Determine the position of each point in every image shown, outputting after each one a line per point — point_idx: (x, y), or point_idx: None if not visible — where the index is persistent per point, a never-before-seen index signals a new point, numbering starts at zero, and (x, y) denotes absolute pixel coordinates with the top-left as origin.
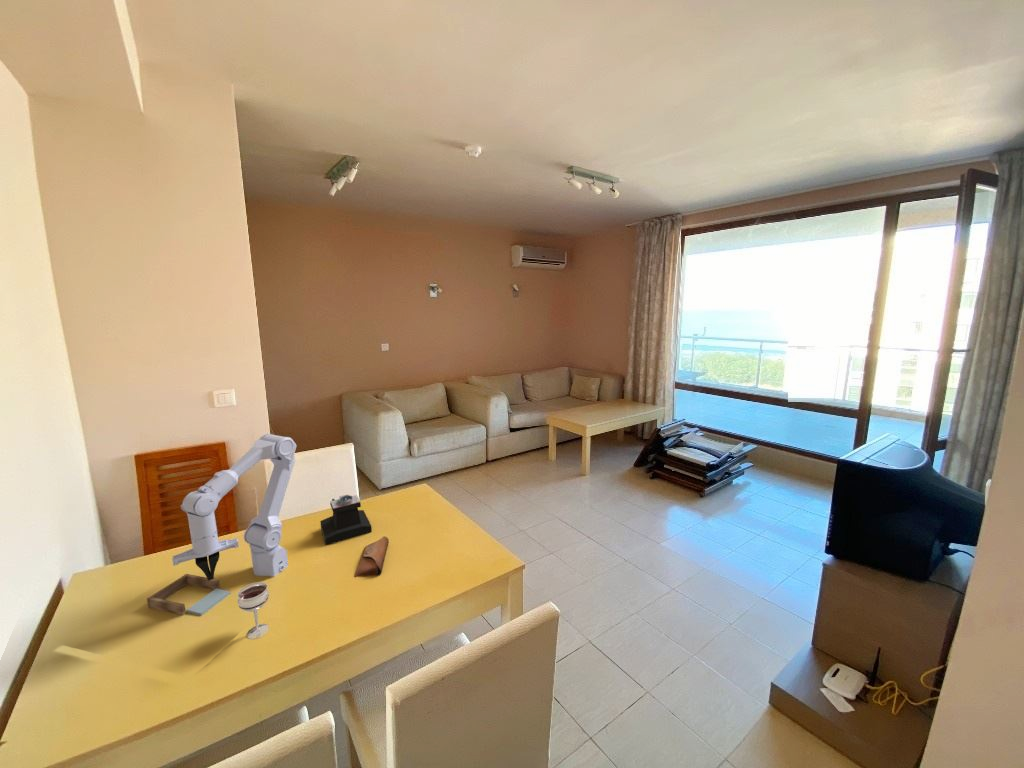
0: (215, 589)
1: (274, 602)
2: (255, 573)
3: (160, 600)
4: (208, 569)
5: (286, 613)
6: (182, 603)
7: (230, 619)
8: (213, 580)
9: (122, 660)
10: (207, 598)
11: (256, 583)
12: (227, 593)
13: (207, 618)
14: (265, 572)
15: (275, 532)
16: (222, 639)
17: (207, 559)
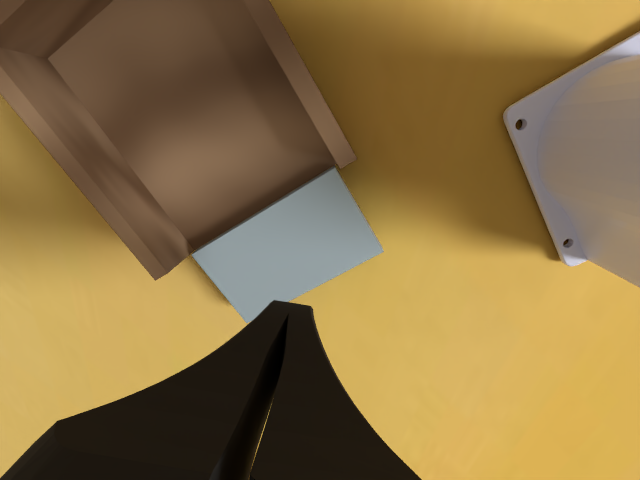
0: (328, 175)
1: (490, 401)
2: (550, 168)
3: (41, 132)
4: (256, 438)
5: (487, 475)
6: (158, 262)
7: None
8: (328, 140)
9: (24, 332)
10: (281, 231)
11: None
12: (367, 257)
13: None
14: (592, 226)
15: None
16: None
17: (244, 427)
